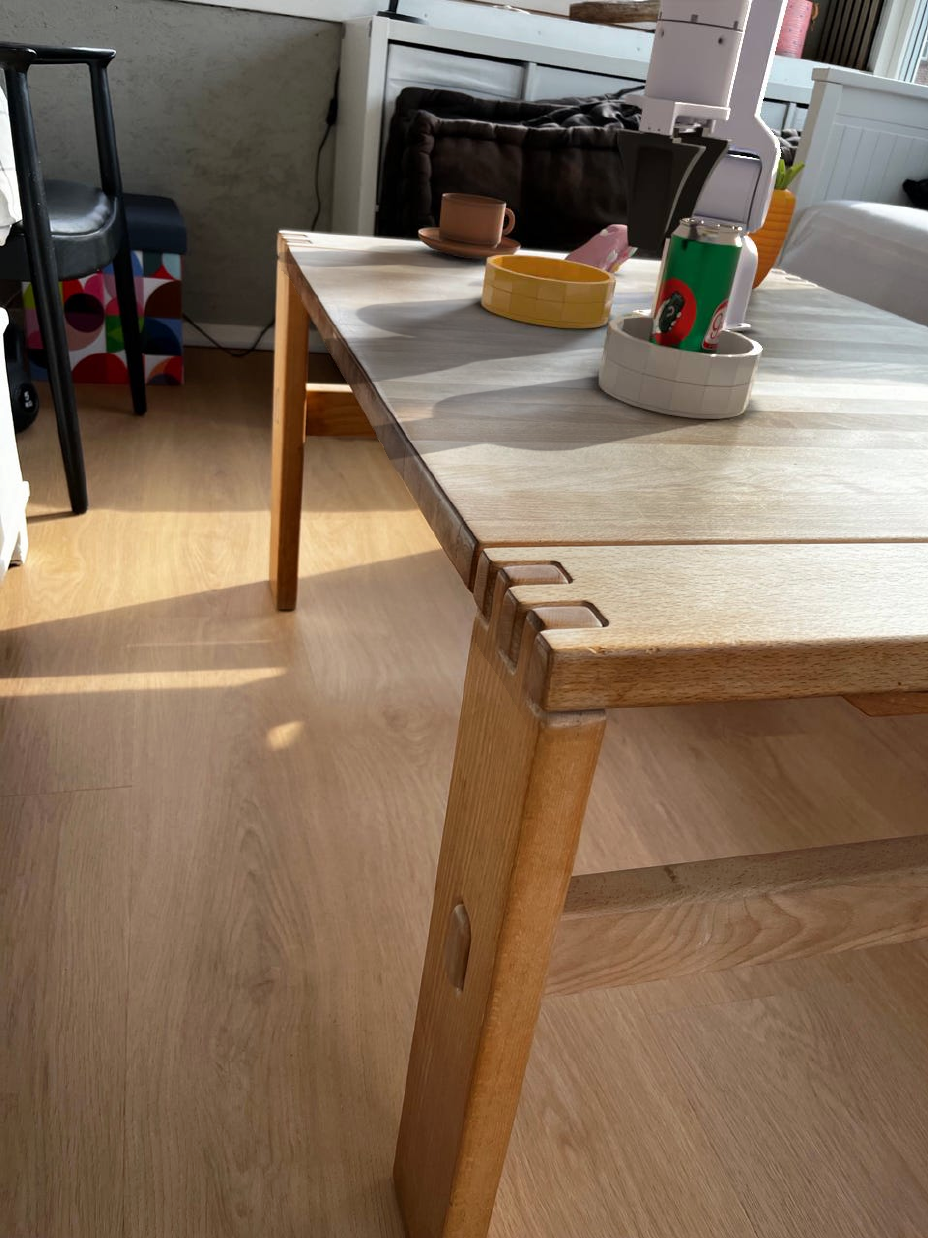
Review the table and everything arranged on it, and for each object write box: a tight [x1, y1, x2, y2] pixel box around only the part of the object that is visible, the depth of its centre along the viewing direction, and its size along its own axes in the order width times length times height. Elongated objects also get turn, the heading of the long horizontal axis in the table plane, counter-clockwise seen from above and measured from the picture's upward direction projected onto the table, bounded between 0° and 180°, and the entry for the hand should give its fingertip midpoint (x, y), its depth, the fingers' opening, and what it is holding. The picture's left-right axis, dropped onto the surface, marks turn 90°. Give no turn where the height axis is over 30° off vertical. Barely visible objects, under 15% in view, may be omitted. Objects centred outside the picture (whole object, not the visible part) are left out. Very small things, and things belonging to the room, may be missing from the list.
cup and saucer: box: [417, 192, 521, 260], centre depth 119 cm, size 12×12×6 cm
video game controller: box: [563, 223, 639, 275], centre depth 118 cm, size 10×5×7 cm, turn 148°
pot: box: [598, 315, 764, 420], centre depth 77 cm, size 11×11×4 cm
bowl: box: [480, 253, 617, 329], centre depth 97 cm, size 12×12×4 cm
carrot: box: [747, 158, 806, 291], centre depth 120 cm, size 5×5×15 cm
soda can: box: [648, 218, 743, 354], centre depth 75 cm, size 5×5×12 cm
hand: (656, 242), depth 74 cm, fingers open, 7 cm apart
